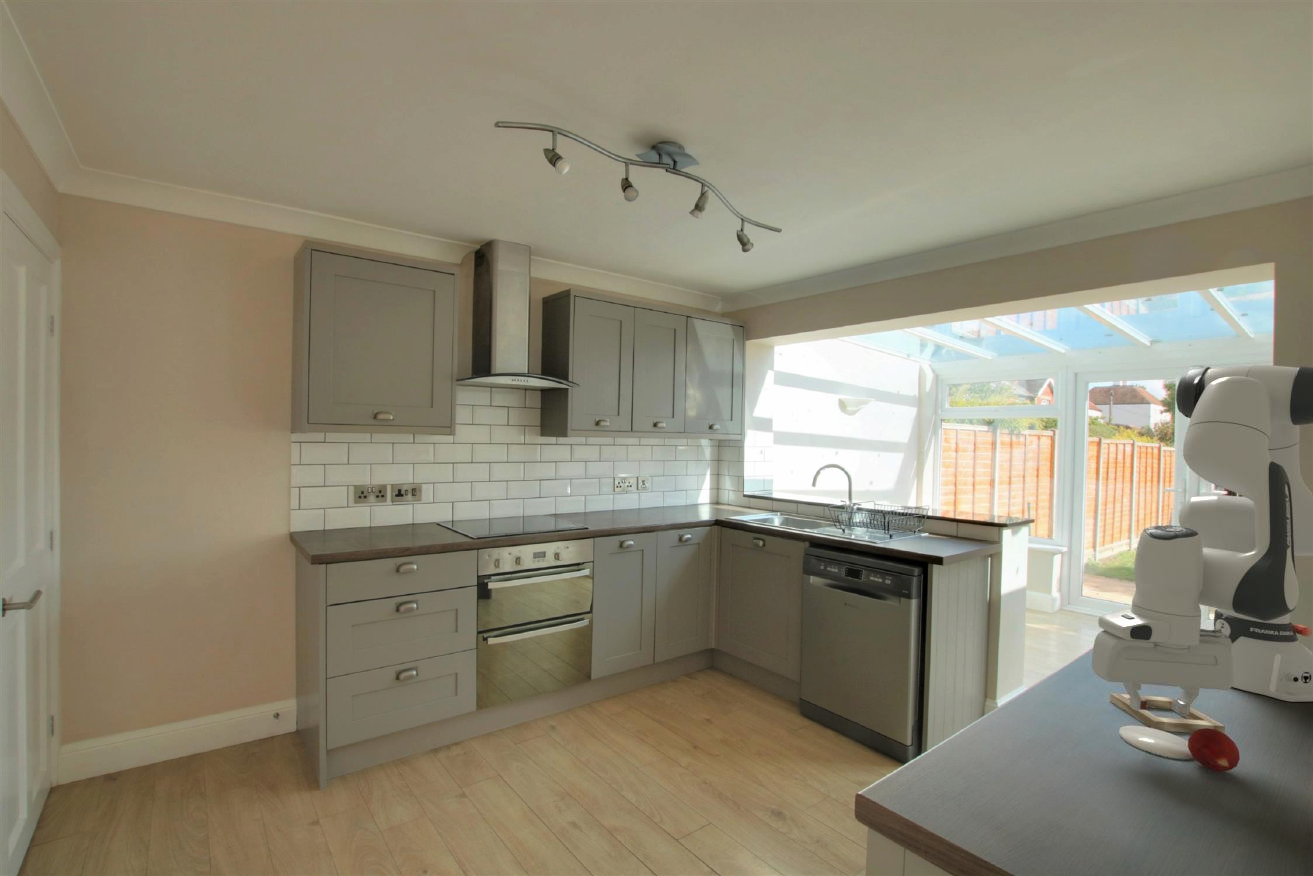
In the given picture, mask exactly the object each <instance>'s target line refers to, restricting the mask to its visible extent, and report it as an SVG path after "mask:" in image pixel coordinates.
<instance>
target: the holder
mask: <svg viewBox="0 0 1313 876" xmlns="http://www.w3.org/2000/svg"><path fill="white" fill-rule="evenodd" d="M1109 696H1110V699H1109V702H1110V701H1111V703H1112V704H1113V703H1114V704H1113V705H1114V706H1117V707H1118V708H1119V709H1121V710H1123V711H1124V710H1125V711H1124V712H1126V713H1127V714H1128V715H1131V717H1133V718H1135V719H1137V720H1138V721H1140V722H1141V723H1143V724H1145V725H1146V727H1149V728H1153V729H1157V730H1161V731H1164V732H1178V733H1179V732H1180V733H1191V734H1192V733H1193V732H1195V731H1197V730H1198V729H1204V728H1209V729H1216V730H1218V731H1220V732H1222V733H1224V734H1226V731H1225V730H1226V726H1225V725H1224V724H1222V723H1220V722H1218V721H1216V720H1215V719H1213V718H1211V717H1210V716H1207V714H1204V713H1202V712H1200V711H1198V710H1197V709H1195V708H1192V707H1191V706H1190V713H1189V714H1179V713H1177V712H1175V711H1174V710H1173V708H1172V706H1173V699H1176V697H1168V696H1153V695H1140V694H1139V696H1140V697H1141V698H1142V699H1144V700H1146V701H1147V705H1146V708H1148V707H1155V708H1154V709H1164V710H1165V709H1166V710H1172V711H1174V712H1175V713H1177V714H1178V715H1180V716H1182V717H1183V718H1171V717H1158V716H1156V715H1155V714H1154V713H1152V712H1151V711H1149V710H1147V709H1146V711H1138V710H1134V709H1133V708H1131V707H1130V696H1129V694H1125V693H1124V694H1122V693H1110V695H1109Z"/></svg>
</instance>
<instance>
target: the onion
mask: <svg viewBox="0 0 1313 876" xmlns="http://www.w3.org/2000/svg"><path fill="white" fill-rule="evenodd" d="M1187 741H1188V749H1189V751H1190V753H1191V755H1192V756H1193V758H1194V759H1193V760H1195V761H1196V762H1197V763H1199V764H1200V765H1201V766H1202V767H1204V768H1206V769H1209V770H1211V771H1213V772H1224V773H1225V772H1228V771H1231V770H1233V769H1235V768H1236V767H1237V766H1238V764H1239V762H1240V751H1239V748H1238V746H1237V745H1236V743H1235V741H1234V740H1232V739H1231V737H1229V736H1228V735H1227V734H1226V733H1225V734H1224V733H1222V732H1220V731H1218V730H1216V729H1209V728H1204V729H1198V730H1197V731H1195V732H1193V733H1191V734H1190V736H1189V737H1188V740H1187Z"/></svg>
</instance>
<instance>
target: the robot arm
mask: <svg viewBox="0 0 1313 876" xmlns="http://www.w3.org/2000/svg"><path fill="white" fill-rule="evenodd" d="M1174 399H1175V403H1176V407H1177V408H1176V409H1177V411H1178V412H1179V413H1181V414H1182V415H1183V416H1184V417H1186V418H1187V419H1189V422H1188V426H1187V429H1186V432H1185V437H1184V442H1183V449H1182V452H1183V453H1182V454H1183V455H1182V456H1183V459H1184V461H1185V463H1186V465H1187V467H1188V468H1189V469H1190V470H1191V471H1192V472H1194V474H1196V475H1197V476H1198V477H1201V478H1202V479H1203V480H1205V481H1207V482H1208V483H1211V484H1213V485H1214V486H1216V487H1220V488H1223V489H1225V490H1228V491H1229V492H1230V491H1231V492H1233V493H1236V494H1238V495H1240V496H1238V495H1237V496H1236V495H1235V496H1234V495H1227V494H1225V495H1224V494H1214V495H1197V496H1196V495H1195V496H1192V497H1190V498H1189V499H1187V500H1186V501H1185V502H1184V503H1183V504H1182V505H1181V506H1180V510H1179V513H1178V522H1179V523H1178V524H1179V525H1178V526H1177V525H1171V524H1170V525H1159V524H1158V525H1153V526H1149V527H1146V528H1144V529H1143V530H1142V531H1141V533H1140V537H1139V540H1138V542H1137V547H1136V553H1135V557H1134V569H1133V580H1134V584H1135V591H1134V592H1135V593H1134V595H1133V597H1132V601H1131V608H1130V607H1129V608H1126V609H1123V610H1119V611H1115V612H1112V613H1111V612H1110V613H1107V614H1103V615H1100V616H1099V618H1098V621H1097V622H1098V627H1099V628H1100V629H1102V630H1101V631H1100V632H1098V633H1097V634H1096V636H1095V638H1094V643H1093V649H1092V654H1091V669H1092V671H1093V672H1094V673H1095V674H1096V676H1097V677H1099V678H1101V679H1103V680H1104V681H1106V682H1108V683H1109V682H1110V683H1121V684H1123V685H1122V686H1123V687H1124V689H1125V690H1126V692H1127V695H1129V696H1130V707H1131V708H1133V709H1134V710H1138V711H1146V710H1147V707H1146V705H1147V701H1146V700H1144V699H1142V698H1141V697H1140V696H1141V695H1140V694H1139V692H1138V691H1141V689H1142V685H1150V686H1151V685H1152V686H1166V687H1179V688H1180V690H1182V692H1181V693H1180V695H1179V696H1178V698H1175V699H1173V706H1172V708H1173V710H1174V713H1176V712H1177V714H1178V713H1179V714H1178V715H1180V714H1189V713H1190V707H1191V705H1192V704H1193V703H1194V701H1195V700H1196V699H1197V698H1198V696H1199V695H1200V689H1202V690H1203V689H1206V690H1219V691H1220V690H1221V691H1228V690H1230V689H1231V688H1235V689H1238V690H1242V691H1246V692H1250V693H1253V694H1259V695H1263V696H1268V697H1271V698H1274V699H1278V700H1280V701H1281V700H1282V701H1284V702H1285V701H1286V702H1291V703H1292V702H1295V703H1296V702H1298V703H1299V702H1313V651H1311V650H1310V649H1309V648H1307V647H1306V646H1304V644H1302V643H1301V642H1299V638H1298V635H1301V636H1303V637H1306V638H1307V637H1310V636H1311V635H1312V633H1313V631H1312V629H1311V627H1309V626H1305V625H1302V624H1293V623H1292V622H1291V620H1290V618H1291V613H1292V612H1294V610H1295V609H1296V607H1297V604H1298V600H1299V597H1300V590H1299V589H1300V587H1299V582H1298V578H1297V571H1296V564H1295V556H1298V557H1313V492H1312V490H1310V489H1309V488H1308V486H1307V484H1306V483H1305V482H1304V479H1303V476H1302V473H1301V465H1300V433H1301V431H1300V426H1304V425H1312V424H1313V367H1311V366H1303V365H1301V366H1300V367H1294V366H1283V365H1267V364H1264V365H1263V364H1252V365H1238V366H1225V367H1224V366H1223V367H1214V368H1212V367H1210V366H1207V367H1198V368H1193V369H1190V370H1188V371H1187V372H1186V373H1185V374H1183V375H1182V376H1181V377H1180V379H1179V382H1178V384H1177V386H1176V389H1175V398H1174ZM1200 605H1201V606H1204V607H1210V608H1213V609H1215V610H1214V615H1213V629H1205V628H1201V624H1202V623H1201V622H1202V609H1201V606H1200ZM1139 695H1140V696H1139ZM1173 710H1172V711H1173Z"/></svg>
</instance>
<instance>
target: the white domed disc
mask: <svg viewBox="0 0 1313 876" xmlns="http://www.w3.org/2000/svg"><path fill="white" fill-rule="evenodd" d="M1118 731H1119V733H1118V735H1119V736H1120V737H1119V738H1121V739H1122V740H1123V741H1124V742H1126V743H1127V744H1129V745H1130V746H1133V747H1134V748H1137V749H1139V750H1142V751H1144V752H1146V751H1148V752H1147V753H1149V752H1151V753H1150V754H1152V755H1155V754H1157V755H1156V756H1159V755H1161V756H1160V757H1164V758H1167V757H1168V759H1173V758H1174V760H1183V761H1185V760H1186V759H1187V760H1194V759H1193V756H1192V755H1191V753H1190V751H1189V749H1188V740H1186V739H1184V738H1182V737H1180V736H1178V735H1175V734H1173V733H1170V732H1168V731H1163V730H1157V729H1153V728H1151V727H1149V726H1143V725H1141V726H1140V725H1125V726H1121V727H1120V728H1119V730H1118Z"/></svg>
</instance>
